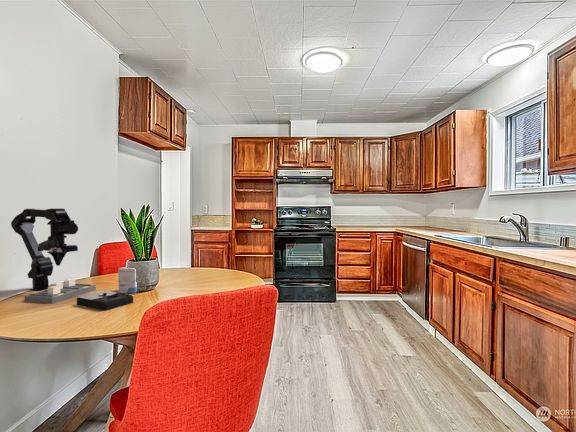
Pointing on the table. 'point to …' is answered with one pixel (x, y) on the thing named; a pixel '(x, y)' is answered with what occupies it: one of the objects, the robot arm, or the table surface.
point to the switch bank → (60, 294)
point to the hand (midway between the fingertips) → (58, 265)
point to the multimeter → (105, 300)
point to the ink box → (127, 280)
